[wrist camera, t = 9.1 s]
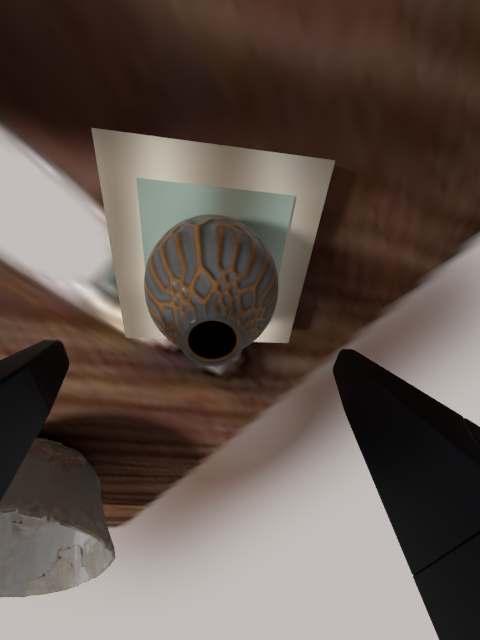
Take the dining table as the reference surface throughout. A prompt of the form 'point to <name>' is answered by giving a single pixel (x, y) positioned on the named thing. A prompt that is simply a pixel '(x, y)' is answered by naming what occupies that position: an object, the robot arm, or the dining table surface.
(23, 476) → the ceramic bowl
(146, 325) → the plinth
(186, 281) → the vase
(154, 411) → the dining table surface
